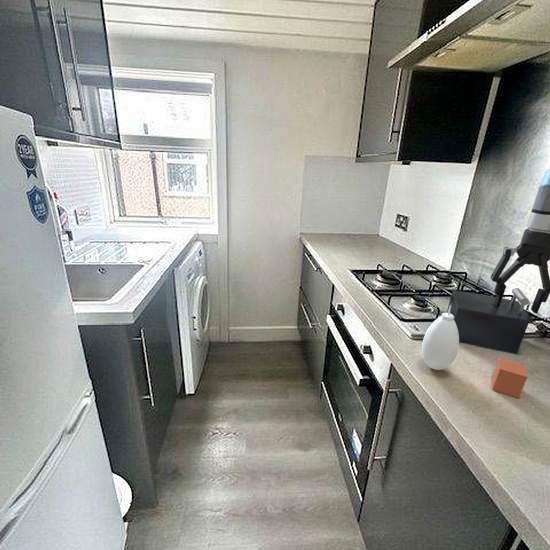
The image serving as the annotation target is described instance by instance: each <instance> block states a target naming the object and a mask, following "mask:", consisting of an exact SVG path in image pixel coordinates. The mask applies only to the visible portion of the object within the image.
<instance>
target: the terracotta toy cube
mask: <svg viewBox="0 0 550 550" xmlns="http://www.w3.org/2000/svg"><path fill="white" fill-rule="evenodd" d="M490 379H491V387H492V388H491V390H492V391H495V392H498V393H501V394H504V395H507V396H510V397H513V398H516V399H520V396H521V394H522V392H523V389H524V386H525V384H526V382H527V379H528V374H527V370H526V366H525V364H523V363H519V362H515V361H511V360H509V359H504V358H501V357H498V358H497V360H496V364H495V365H494V369H493V372H492V374H491V377H490Z"/></svg>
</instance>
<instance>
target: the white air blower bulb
mask: <svg viewBox="0 0 550 550" xmlns="http://www.w3.org/2000/svg"><path fill="white" fill-rule="evenodd" d="M447 310H448V309H447ZM450 310H451V305H450V307H449V310H448V313H447V312H442V314H441V315H440V316H439V317H437V318H436V319H435V320H434V321H433V322H432V323H431V324H430V326H429V327H428V328H427V330H426V332H425V334H424V336H423V339H422V342H421V355H422V358H423V361H424V363H425V364H426V365H427V367H429V368H430V369H432V370H434V371H442V370H446V369H447V368H448V367H450V366H451V365H452V364H453V363H454V361H455V359H457V356H458V352H459V348H460V342H459V334H458V329H457V325H456V323H455V321H454V320H453V319H454V316H453V315H452V314H450Z"/></svg>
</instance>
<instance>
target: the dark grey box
mask: <svg viewBox="0 0 550 550" xmlns="http://www.w3.org/2000/svg"><path fill="white" fill-rule="evenodd" d="M450 305H451V310H450V314H452V315H453V316H454V319H453V320H454V321H455V323H456V325H457V329H458V334H459V343H463V344H468V345H472V346H477V347H482V348H486V349H491V350H495V351H500V352H505V353H509V354H513V355H518V352H519V351H520V347H521V344H522V342H523V339H524V337H525V334H526V332H527V329H528V326H529V323H524V322H519V321H513V320H508V319H503V318H497V317H492V316H486V315H481V314H476V313H470V312H465V311H460V310H457V307H456V303H455V300H454V297H453V294H452V293H451V294H450V297H449V303H448V306H447V310H446V313H448V310H449V307H450Z"/></svg>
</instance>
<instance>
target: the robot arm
mask: <svg viewBox="0 0 550 550" xmlns="http://www.w3.org/2000/svg"><path fill="white" fill-rule="evenodd" d="M514 254H517V256H518V257H516V259H515V260H514V262H512V263H511V265H510V266H509V267H508V268H506V266H507V265H508V263H509V261H510V260H511V257H513V256H514ZM548 262H550V168H548V169H547V170H545V172H544V174H543V176H542V179H541V181H540V184H539V186H538V190H537V192H536V195H535V198H534V202H533V205H532V208H531V210H530V213H529V217H528V219H527V222H526V229H524V231H523V234H522V237H521V239H520V242H519V245H518V246H517V247H508V246H505V247H504V248H503V252H502V256H501V258H500V259H499V260H498V263H497V264H496V266H495V268H494V270H493V271H492V273H491V275H490V279H491V281H492V282H494V283H495V286H494V289H493V293H494V294H495V297H496V298H495V301H494V303H495V305H496V306H497V307H499V306H500V304H501V301H502V298H503V299H504V295H505V292H506V289H507V285H506V282H508V281H509V280H510V279H511V278H512V277H513V276H514V275H515V274H516V273H517V272H518V271H519V270H520V269H521V268H522V267H523V268H524V266H525V265H528V266H529V265H534V266H536V267H538V270H539V275H540V281H541V284H542V285H541V286H542V288H538V290H537V291H536V293H535V297H534V300H533V302H532V305H531V307H530V310H531V311H532V313H533V314H535V315H537V314H538V313H539V310H540V308H541V306H542V303H545V304H546V302H547V300H548V299H549V297H550V274H549V273H550V272H549V264H548ZM505 268H506V270H505ZM503 271H504V272H503Z"/></svg>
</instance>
